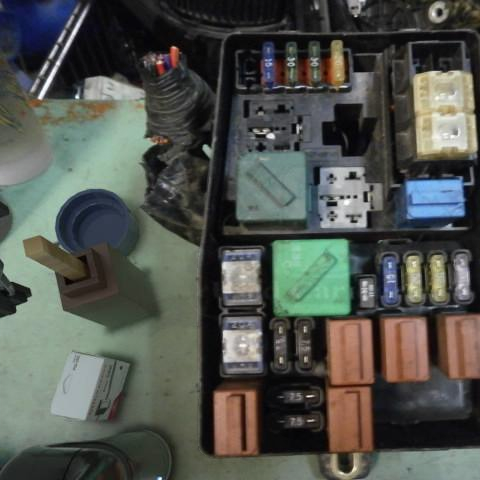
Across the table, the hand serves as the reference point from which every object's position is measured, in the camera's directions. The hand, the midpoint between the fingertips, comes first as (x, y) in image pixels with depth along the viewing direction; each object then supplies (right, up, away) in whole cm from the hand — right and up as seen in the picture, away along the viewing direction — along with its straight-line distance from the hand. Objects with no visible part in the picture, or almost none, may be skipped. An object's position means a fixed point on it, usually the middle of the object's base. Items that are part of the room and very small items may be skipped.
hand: (10, 255), depth 51 cm
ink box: (-3, -21, +31) cm, 37 cm away
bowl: (-6, +3, +37) cm, 38 cm away
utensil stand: (-1, -8, +34) cm, 35 cm away
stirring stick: (0, -3, +17) cm, 17 cm away
